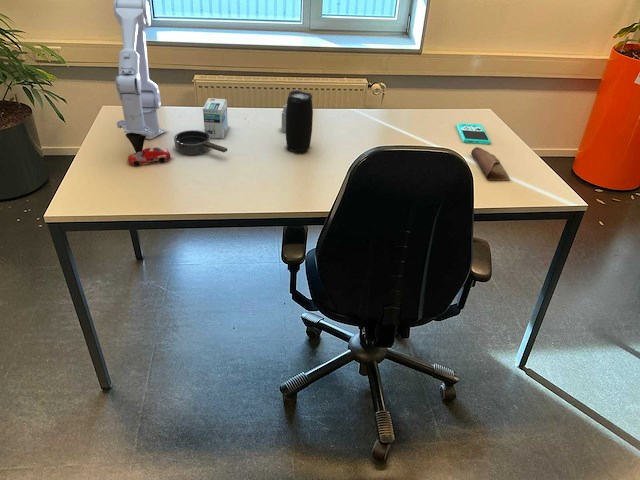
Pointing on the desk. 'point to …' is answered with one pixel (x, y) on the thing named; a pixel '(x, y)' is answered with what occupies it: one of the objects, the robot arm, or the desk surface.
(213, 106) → the light bulb box
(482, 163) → the sunglasses case
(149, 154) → the race car
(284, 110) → the power adapter
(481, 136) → the handheld game console
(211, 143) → the pan handle
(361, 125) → the desk surface
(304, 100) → the portable speaker
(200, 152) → the pan
